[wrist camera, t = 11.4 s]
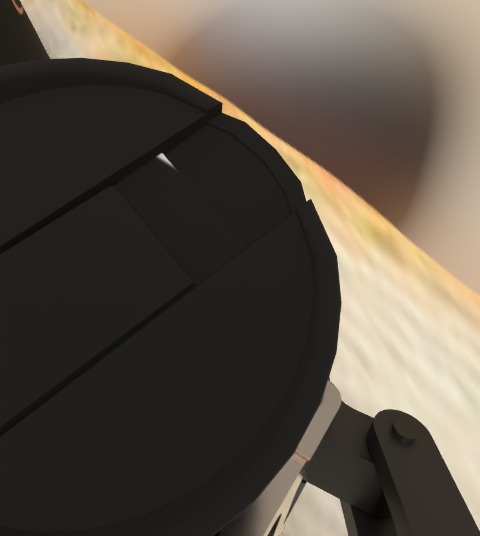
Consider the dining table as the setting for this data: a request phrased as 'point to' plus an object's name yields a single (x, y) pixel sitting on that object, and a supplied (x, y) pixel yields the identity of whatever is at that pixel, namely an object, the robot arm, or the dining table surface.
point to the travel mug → (149, 305)
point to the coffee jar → (18, 35)
